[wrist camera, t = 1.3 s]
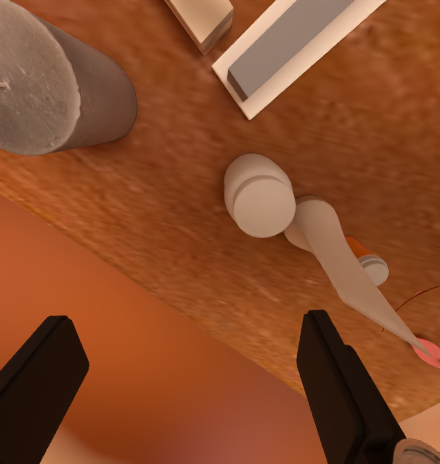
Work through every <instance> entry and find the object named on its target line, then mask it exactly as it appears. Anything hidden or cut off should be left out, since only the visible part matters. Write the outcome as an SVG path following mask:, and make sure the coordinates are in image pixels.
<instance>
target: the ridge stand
mask: <svg viewBox="0 0 440 464" xmlns="http://www.w3.org/2000/svg"><path fill="white" fill-rule="evenodd" d="M385 1H386V0H276V1H275V2H274V3H273V4H272V5H271V6H270V7H269V8H268V9H267V10H266V11H265V12H264V13H263V14H262V15H261V16H260V17H259V18H258V19H257V20H256V21H255V22H254V23H253V24H252V25H251V26H250V27H249V28H248V29H247V30H246V31H245V33H244V34H243V35H242V36H241V37H240V38H239V39H238V40H237V41H236V42H235V43H234V44H233V45H232V46H231V47H230V48H229V49H228V50H227V51H226V52H225V53H224V54H223V55H222V56H221V57H220V58H219V59H218V60H217V61H216V62H215V63H214V64H213V65H212V69H213V70H214V72H215V73H216V75H217V76H218V77H219V79H220V80H221V82H222V83H223V85H224V86H225V87H226V89H227V90H228V92H229V93H230V94H231V96H232V97H233V99H234V100H235V102H236V103H237V104H238V106H239V107H240V109H241V110H242V112H243V113H244V114H245V116H246V117H247V119H248V120H251V119H252V118H253V117H254V116H255V115H256V114H257V113H259V112H260V111H261V110H262V109H263V108H264V107H265V106H267V105H268V104H269V103H270V102H271V101H272V100H273V99H274V98H276V97H277V96H278V95H279V94H280V93H281V92H282V91H284V90H285V89H286V88H287V87H288V86H289V85H290V84H291V83H293V82H294V81H295V80H296V79H297V78H298V77H299V76H301V75H302V74H303V73H304V72H305V71H306V70H307V69H309V68H310V67H311V66H312V65H313V64H314V63H315V62H316V61H318V60H319V59H320V58H321V57H322V56H323V55H324V54H326V53H327V52H328V51H329V50H330V49H331V48H332V47H333V46H335V45H336V44H337V43H338V42H339V41H340V40H341V39H343V38H344V37H345V36H346V35H347V34H348V33H349V32H351V31H352V30H353V29H354V28H355V27H356V26H357V25H358V24H360V23H361V22H362V21H363V20H364V19H365V18H366V17H368V16H369V15H370V14H371V13H372V12H373V11H374V10H375V9H377V8H378V7H379V6H380V5H381V4H382V3H383V2H385Z"/></svg>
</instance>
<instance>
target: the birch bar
mask: <svg viewBox="0 0 440 464" xmlns="http://www.w3.org/2000/svg"><path fill="white" fill-rule="evenodd" d="M165 2H166V3H167V5H168V6H169V7H170V9H171V10H172V12H173V13H174V14H175V16H176V17H177V19H178V20H179V21H180V23H181V24H182V26H183V27H184V29H185V30H186V31H187V33H188V34H189V36H190V37H191V38H192V40H193V41H194V43H195V44H196V45H197V47H198V48H199V50H200V51H201V52H202V54H203V55H204V56H205V55H206V54H207V53H208V51H209V50H210V49H211V48H212V47H213V46H214V45H215V44H216V43H217V42H218V41H219V40H220V39H221V38H222V37H223V36H224V34H225V33H226V32H227V31H228V30H229V29H230V28H231V27H232V18H233V6H232V5H231V3H230V1H229V0H165Z"/></svg>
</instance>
